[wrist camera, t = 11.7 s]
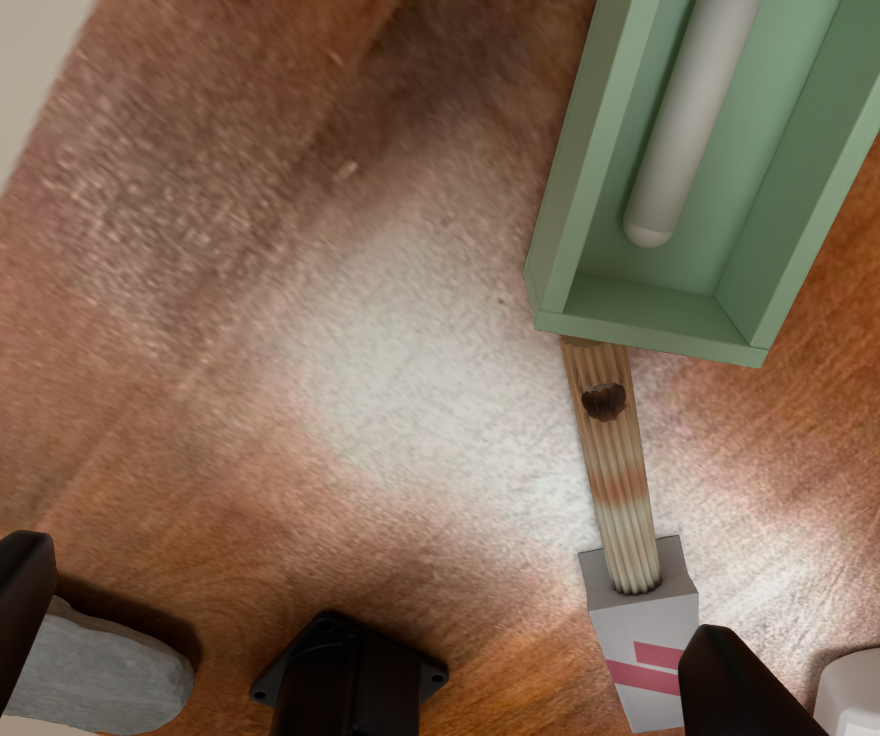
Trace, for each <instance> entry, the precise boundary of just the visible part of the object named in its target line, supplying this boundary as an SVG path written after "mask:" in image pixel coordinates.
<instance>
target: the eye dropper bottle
mask: <svg viewBox="0 0 880 736" xmlns="http://www.w3.org/2000/svg"><path fill="white" fill-rule="evenodd" d="M813 718H814V719H815V720H816V721H817V722H818V723H819V725H820V726H821V727H822V728H823V729H824V730H825V731H826V732H827V733H828V734H829V735H830V736H880V648H873V649H867V650H862V651H858V652H855V653H852V654H849V655H846V656H843V657H841V658H839V659H837V660H835V661H833V662H831V663H830V664H828V665H827V666H826V667H825V668H824V670H823V671H822V673H821V676H820V682H819V687H818V693H817V698H816V704H815V710H814V715H813Z"/></svg>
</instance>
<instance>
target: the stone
mask: <svg viewBox="0 0 880 736" xmlns="http://www.w3.org/2000/svg"><path fill="white" fill-rule="evenodd" d="M193 687H194V670H193V667H192V666H191V664H190V661H189V659H187V658H186V657H184V656H183V655H181V654H180V653H178V652H176V651H175V650H174V648H171V647H169V646H168V645H166V644H165V643H163V642H161V641H160V640H158V639H156V638H154V637H151V636H149V635H146V634H144V633H141V632H138V631H135V630H133V629H131V628H129V627H127V626H124V625H121V624H119V623H116V622H112V621H108V620H104V619H100V618H95V617H91V616H87V615H84V614H82V613H80V612H78V611H76V610H74V609H72V608H71V606H70V604H69V603H68V602H66V601H65V600H64V599H62V598H60V597H58V596H56V595H53V597H52V600H51V602H50V605H49V607H48V609H47V612H46V614H45V617H44V619H43V621H42V624H41V626H40V629H39V631H38V633H37V636H36V638H35V641H34V643H33V645H32V648H31V650H30V653H29V655H28V657H27V660H26V662H25V665H24V667H23V669H22V672H21V674H20V677H19V679H18V681H17V684H16V686H15V688H14V691H13V693H12V695H11V697H10V700H9V702H8V704H7V706H6V708H5V710H4V712H3V715H9V716H21V717H27V718H32V719H38V720H43V721H48V722H53V723H58V724H63V725H67V726H70V727H74V728H78V729H81V730H84V731H90V732H96V731H101V732H106V733H110V734H115V735H120V736H125V735H136V734H139V733H142V732H150V731H153V730H155V729H157V728H159V727H161V726H162V725H164V724H167V723H168V722H169V721H171V720H173V719H174V718H175V717H176V716H177V715H178V714H179V713H180V712H181V710H182V709H183V707H184V706H185V704H186V702H187V700H188V698H189V696H190V694H191V692H192V690H193Z"/></svg>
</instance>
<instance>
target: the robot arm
mask: <svg viewBox="0 0 880 736" xmlns="http://www.w3.org/2000/svg"><path fill="white" fill-rule="evenodd" d="M56 585H57V568H56V560H55V552H54V544H53V539H52V537H51V536H50V535H49V534H47V533H42V532H35V531H27V530H18V531H15V532H13V533H11V534H9V535H8V536H6V537H5V538H3V539H2V540H0V718H1V716H2V714H3V712H4V710H5V708H6V706H7V704H8V702H9V700H10V697H11V695H12V693H13V691H14V688H15V686H16V684H17V681H18V679H19V677H20V674H21V672H22V669H23V667H24V665H25V662H26V660H27V657H28V655H29V653H30V650H31V648H32V645H33V643H34V641H35V638H36V636H37V633H38V631H39V629H40V626H41V624H42V621H43V619H44V617H45V614H46V612H47V609H48V607H49V605H50V602H51V600H52V597H53V595H54V592H55V589H56ZM448 681H449V668H448V666H446V665H445V664H443V663H441V662H439V661H436V660H434V659H432V658H430V657H428V656H426V655H424V654H422V653H419V652H417V651H415V650H413V649H411V648H409V647H407V646H404V645H402V644H400V643H398V642H396V641H394V640H392V639H389V638H387V637H385V636H383V635H381V634H379V633H377V632H375V631H372V630H370V629H368V628H366V627H364V626H362V625H360V624H357V623H355V622H353V621H351V620H349V619H347V618H345V617H342V616H340V615H338V614H336V613H334V612H331V611H323V612H320V613H318V614H317V615H316V616H315V617H314V618H313V619H312V620H311V621H310V622H309V623H308V624H307V625H306V626H305V627H304V629H303V630H302V631H301V632H300V633H299V634H298V635H297V636H296V637H295V638H294V639H293V640H292V641H291V642H290V643H289V644H288V645H287V647H286V648H285V649H284V650H283V651H282V652H281V653H280V654H279V655H278V656H277V657H276V658H275V659H274V660H273V661H272V662H271V664H270V665H269V666H268V667H267V668H266V669H265V670H264V671H263V672H262V673H261V674H260V675H259V676H258V677H257V678H256V679H255V680H254V682H253V683H252V684H251V687H250V691H249V697H250V698H251V699H252V700H254V701H256V702H258V703H261V704H263V705H266V706H268V707H271V708H273V709H275V710H274V714H273V719H272V723H271V728H270V732H269V736H419V730H420V705H422V704H423V703H424V702H425V701H426V700H427V699H429V698H430V697H431V696H432V695H433V694H435V693H436V692H437V691H438V690H439V689H440V688H442V687H443V686H444V685H445V684H446V683H447V682H448ZM678 682H679V690H680V697H681V705H682V713H683V721H684V728H685V736H830V735H829V734H828V733H827V732H826V731H825V730H824V729H823V728H822V727H821V726H820V725H819V723H818V722H817V721H816V720H815V719H814V718H813V717H812V716H811V715H810V714H809V713H808V712H807V710H806V709H805V708H804V707H803V706H802V705H801V704H800V703H799V702H798V701H797V700H796V698H795V697H794V696H793V695H792V694H791V693H790V692H789V691H788V690H787V689H786V688H785V687H784V685H783V684H782V683H781V682H780V681H779V680H778V679H777V678H776V677H775V676H774V675H773V673H772V672H771V671H770V670H769V669H768V668H767V667H766V666H765V665H764V664H763V663H762V662H761V660H760V659H759V658H758V657H757V656H756V655H755V654H754V653H753V652H752V651H751V650H750V649H749V647H748V646H747V645H746V644H745V643H744V642H743V641H742V640H741V639H740V638H739V637H738V635H737V634H736V633H735V632H734V631H732V630H731V629H730V628H727V627H724V626H716V625H709V624H702V625H701V626H699V627H698V628H697V629H696V631H695V633H694V634H693V636H692V638H691V640H690V641H689V643H688V645H687V647H686V648H685V650H684V652H683V654H682V655H681V657H680V660H679V663H678Z"/></svg>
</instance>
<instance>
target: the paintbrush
mask: <svg viewBox="0 0 880 736" xmlns="http://www.w3.org/2000/svg"><path fill="white" fill-rule="evenodd" d="M560 341H561V343H560V346H561V350H562V355H563V359H564V364H565V368H566V373H567V377H568V382H569V386H570V391H571V395H572V399H573V404H574V409H575V414H576V419H577V424H578V429H579V434H580V438H581V443H582V448H583V453H584V458H585V463H586V468H587V472H588V477H589V482H590V487H591V492H592V497H593V502H594V507H595V511H596V516H597V521H598V525H599V530H600V535H601V539H602V544H603V549H601V550H596V551H590V552H585V553H579V554H578V556H579V560H580V565H581V569H582V573H583V577H584V581H585V586H586V590H587V606H588V613H589V616H590V619H591V621H592V624H593V627H594V630H595V632H596V635H597V638H598V640H599V643H600V646H601V648H602V651H603V654H604V657H605V659H606V662H607V665H608V667H609V670H610V673H611V676H612V678H613V681H614V684H615V686H616V689H617V692H618V695H619V697H620V700H621V703H622V705H623V708H624V711H625V714H626V716H627V719H628V722H629V724H630V727H631V730H632V732H633V733H640V732H647V731H654V730H661V729H668V728H675V727H682V726H684V721H683V713H682V705H681V697H680V690H679V682H678V663H679V660H680V657H681V655H682V654H683V652H684V650H685V648H686V647H687V645H688V643H689V641H690V640H691V638H692V636H693V634H694V633H695V631H696V629H697V628H698V591H697V589H696V587H695V586H694V584H693V582H692V580H691V578H690V577H689V575H688V572H687V568H686V564H685V559H684V555H683V551H682V547H681V542H680V538H679V535H678V536H673V537H667V538H662V539H656V540H655V534H654V527H653V520H652V513H651V506H650V499H649V492H648V485H647V478H646V471H645V464H644V457H643V450H642V444H641V437H640V431H639V424H638V417H637V411H636V404H635V398H634V391H633V384H632V378H631V371H630V365H629V358H628V351H627V346H625V345H620V344H614V343H608V342H602V341H597V340H591V339H585V338H579V337H574V336H568V335H562V334H561V337H560ZM609 382H614V384H613V386H612V387H611V388H610V389H608V388H605V389H603V390H601V392H598V391H592V392H591V393H589V392H587V389H588V388H589V387H590V386H593V387H595V386H597V385H598V384H600V383H605V384H608V383H609Z"/></svg>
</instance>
